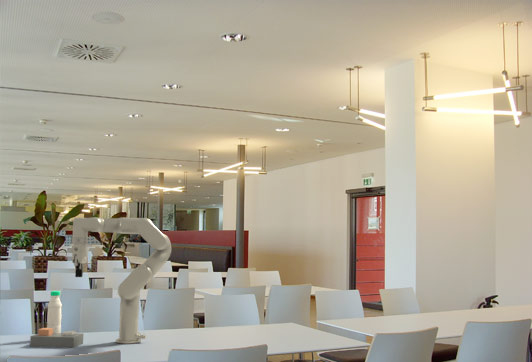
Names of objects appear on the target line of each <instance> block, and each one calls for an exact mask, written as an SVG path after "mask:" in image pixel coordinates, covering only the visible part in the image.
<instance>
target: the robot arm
mask: <svg viewBox="0 0 532 362" xmlns="http://www.w3.org/2000/svg"><path fill="white" fill-rule="evenodd" d="M89 232H92V233H94V232H95V233H115V234H116V233H117V234H125V235H127V234H128V235H140V237H142V239H143V240H144V241H146V242H147V244H148V245H149V246H151V247H152V248H153V249H154V251H153V252H152V254H151V253H150V255H149V257H147V258H146V260H145V261H144V262H143V263H142V264H140V265H138V266H137V267H135V268H134V269H133V270H132V271H131V272H130V273H129V274H128V275H127V277H125V279H124V280H123V281H122V282H121V283H120V284H119V286H118V288H117V295H118V297H119V298H120V304H119V336H118V338H117V339H115V342H116V343H118V344H124V345H125V344H137V343H141V341H142V340H144V339H145V340H146V338H147V335H146V334H141V332H140V331H139V319H140V318H139V316H140V315H139V313H140V312H139V311H140V294H141V291H142V289H143V288H144V287H145V286H146V285H147V284H148V283H149V282H151V281H152V279H153V278H154V277H155V275H156V274H157V273H158V272H159V271H160V270H161V268H162V267H164V265H165V264H166V263H167V261H168V260H169V258H170V257H171V254H172V244H171V243H172V242H171V240H170V238H169V237H168V235H166V234H164V233H162V232H161V231H160V230H159V229H158V227H156V226H155V225H154V222H153V221H152V220H151V219H150V218H147V217H141V218H140V217H126V216H125V217H118V218H117V217H116V218H110V217H109V218H108V217H106V218H105V217H95V216H94V217H74V218H73V221H72V241H71V242H72V245H73V246H72V254H71V255H72V256H71V257H72V258H71V261H72V263H73V266H74V268H75V276H74V277H75V278H83V276H84V275H83V271H84V265H85V264H86V263H88V258H89V257H88V253H89V252H88V251H89V250H88V241H89V240H88V239H89V237H88V236H89Z"/></svg>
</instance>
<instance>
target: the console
mask: <svg viewBox="0 0 532 362" xmlns="http://www.w3.org/2000/svg"><path fill="white" fill-rule="evenodd" d="M62 333H63V332H61V333H53V334H52V335H49V336H41V335H38V333H36V334H33V335H30V337H29V338H30V339H29V340H30V341H29V342H30V343H29V347H31V348H33V347H34V348H61V349H63V348H64V349H65V348H69V349H70V348H71V349H74V348H76V347H79V346H81V345H83V344H84V333H82V332H81V333H77V332H76V335H74V336H62Z"/></svg>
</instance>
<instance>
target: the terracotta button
mask: <svg viewBox="0 0 532 362" xmlns="http://www.w3.org/2000/svg"><path fill="white" fill-rule="evenodd" d="M37 334H38V335H41V336H49V335H52V334H53V328H47V327H42V328H39V329H38V333H37Z"/></svg>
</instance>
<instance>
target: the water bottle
mask: <svg viewBox="0 0 532 362" xmlns="http://www.w3.org/2000/svg"><path fill="white" fill-rule="evenodd" d="M60 296H61V292H60V291H59V290H51V291H50V297H51V298H50V299H49V302H48V304H47V317H46V318H47V319H46V324H47V326H46V328H53V333H62V326H61V323H62V306H63V304H62V302H61V299H60Z"/></svg>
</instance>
